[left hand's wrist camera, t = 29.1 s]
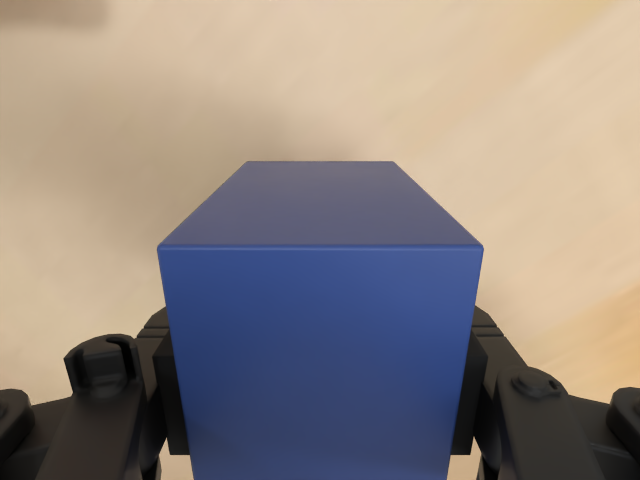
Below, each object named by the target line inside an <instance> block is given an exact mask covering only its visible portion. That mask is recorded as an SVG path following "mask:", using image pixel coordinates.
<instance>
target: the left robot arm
mask: <svg viewBox="0 0 640 480" xmlns="http://www.w3.org/2000/svg"><path fill="white" fill-rule="evenodd" d="M64 362H65V366H66V369H67V373H68V376H69V380H70V383H71V387H72V390H73V393H72V396H71V397H67V398H64V399H60V400H55V401H50V402H46V403H41V404H37V405H32V406H31V404H30V401H29V398H28V395H27V394H26V393H25V392H23V391H22V390H17V389H5V390H0V480H160V479H161V464H160V458H159V453H160V451H161V449H162V447H163V444H164V442H165V440H166V438H167V441H168V447H169V452H170V455H190V452H189V446H188V440H187V434H186V427H185V421H184V415H183V409H182V403H181V396H180V390H179V384H178V378H177V371H176V365H175V359H174V353H173V346H172V340H171V334H170V328H169V322H168V315H167V309H166V307H164V308H163V309H161V310H160V311H158V312H157V313H155V314H154V315H152V316H151V318H150V319H149V320H148V322H147V323H146V324H145V326H144V329H142V330H141V331H140V332H139V334H138V335H137V338H135V339H133V338H132V337H131V336H128V335H124V334H107V335H103V336H99V337H95V338H92V339H90V340H87V341H85V342H83V343H81V344H79V345H78V346H76V347H75V348H73V349H72V350H70V351H69V353H68V354H67V355H66V356H65V357H64ZM473 437H475V439H476V442H477V444H478V446H479V448H480V451H481V458H480V463H479V468H478V473H477V478H476V480H640V388H634V387H627V388H619V389H618V390H617V391H616V392H614V393H613V396H612V399H611V402H610V404H607V403H602V402H598V401H593V400H588V399H584V398H579V397H575V396H572V395H568V393H567V391H566V390H565V388H564V387H563V385H562V384H561V383H560V382H559V381H557V380H556V379H555V378H554V377H552V376H551V375H549V374H547V373H545V372H543V371H541V370H539V369H536V368H532V367H529V366H527V365H526V363H525V362H524V361H523V359H522V358H521V357H520V355H519V354H518V353H517V351H516V350H515V349H514V347H513V346H512V345H511V343H510V342H509V341H508V339H507V338H506V337H504V334H503V333H502V332H501V330H500V329H499V328H498V327H497V325H496V324H495V322H494V321H493V320H492V318H491V317H490V316H489V314H487V313H486V312H484V311H483V310H481V309H480V308H478V307H477V306H475V307H474V313H473V319H472V325H471V332H470V338H469V344H468V350H467V356H466V363H465V369H464V375H463V381H462V387H461V394H460V400H459V406H458V412H457V418H456V424H455V431H454V437H453V443H452V449H451V455H470V453H471V448H472V443H473Z"/></svg>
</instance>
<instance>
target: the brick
mask: <svg viewBox="0 0 640 480" xmlns="http://www.w3.org/2000/svg"><path fill="white" fill-rule="evenodd" d="M483 251H484V248H483V245H482V244H481V243H480V242H479V241H478V240H476V239H475V238H474V237H473V236H472V235H471V234H470V233H469V232H468V231H467V230H466V229H465V228H464V227H463V226H462V225H460V224H459V223H458V222H457V221H456V220H455V219H454V218H453V217H452V216H451V215H450V214H449V213H448V212H447V211H446V210H445V209H443V208H442V207H441V206H440V205H439V204H438V203H437V202H436V201H435V200H434V199H433V198H432V197H431V196H430V195H429V194H427V193H426V192H425V191H424V190H423V189H422V188H421V187H420V186H419V185H418V184H417V183H416V182H415V181H414V180H413V179H412V178H410V177H409V176H408V175H407V174H406V173H405V172H404V171H403V170H402V169H401V168H400V167H399V166H398V165H397V164H396V163H394V162H393V161H248V162H246V163H245V164H244V165H243V166H241V167H240V168H239V169H238V170H237V171H236V172H235V173H234V174H233V175H232V176H231V177H230V178H229V179H228V180H227V181H226V182H225V183H223V184H222V185H221V186H220V187H219V188H218V189H217V190H216V191H215V192H214V193H213V194H212V195H211V196H210V197H209V198H208V199H207V200H205V201H204V202H203V203H202V204H201V205H200V206H199V207H198V208H197V209H196V210H195V211H194V212H193V213H192V214H191V215H190V216H189V217H187V218H186V219H185V220H184V221H183V222H182V223H181V224H180V225H179V226H178V227H177V228H176V229H175V230H174V231H173V232H172V233H171V234H169V235H168V236H167V237H166V238H165V239H164V240H163V241H162V242H161V243H160V244H159V245H158V247H157V253H158V259H159V265H160V272H161V278H162V284H163V290H164V297H165V303H166V309H167V315H168V322H169V328H170V334H171V340H172V346H173V353H174V359H175V365H176V371H177V378H178V384H179V390H180V396H181V403H182V409H183V415H184V421H185V427H186V434H187V440H188V446H189V452H190V459H191V465H192V471H193V477H194V480H447V474H448V468H449V462H450V455H451V449H452V443H453V437H454V431H455V424H456V418H457V412H458V406H459V400H460V394H461V387H462V381H463V375H464V369H465V363H466V356H467V350H468V344H469V338H470V332H471V325H472V319H473V313H474V307H475V301H476V294H477V288H478V282H479V276H480V270H481V264H482V257H483Z"/></svg>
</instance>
